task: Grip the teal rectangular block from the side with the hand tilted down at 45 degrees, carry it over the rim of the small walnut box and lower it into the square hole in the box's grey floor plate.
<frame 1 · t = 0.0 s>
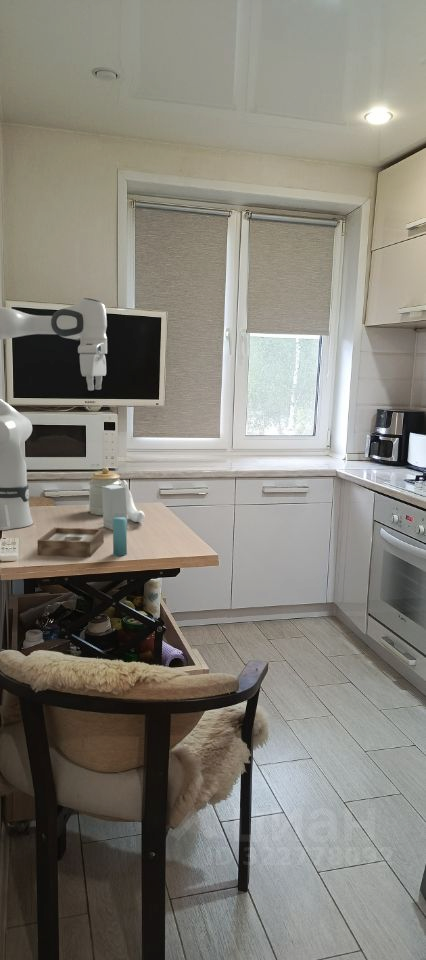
hand: (94, 389, 219), 48 cm above the table, tool pointing down, fingers open, 8 cm apart
peg box: (72, 548, 200), on the table
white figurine: (134, 522, 236), on the table
jar: (106, 512, 251), on the table
teal rectangular block: (120, 554, 195), on the table
skincare box: (114, 528, 227), on the table
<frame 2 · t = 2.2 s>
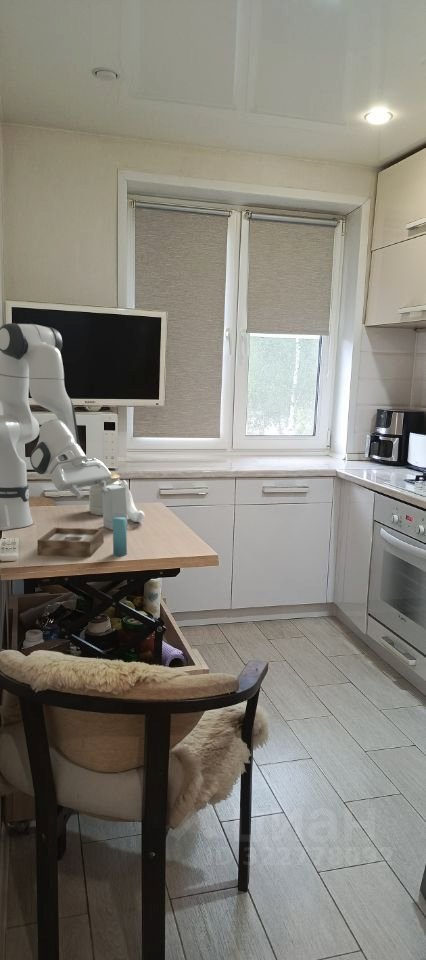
hand: (94, 495, 200), 16 cm above the table, tool tilted 45°, fingers open, 8 cm apart
nothing on the table moved.
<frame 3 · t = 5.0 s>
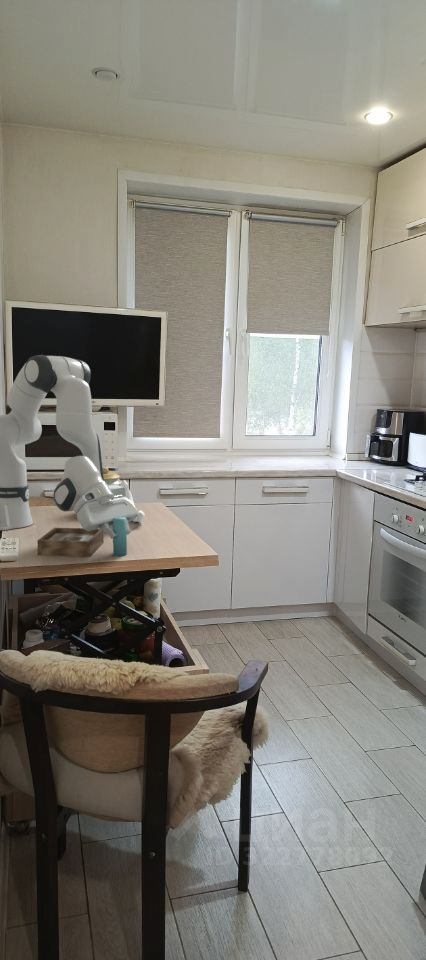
hand: (121, 535, 193), 6 cm above the table, tool tilted 45°, fingers closed on teal rectangular block, 4 cm apart
teal rectangular block: (120, 553, 195), on the table, touching gripper
everything else where it was.
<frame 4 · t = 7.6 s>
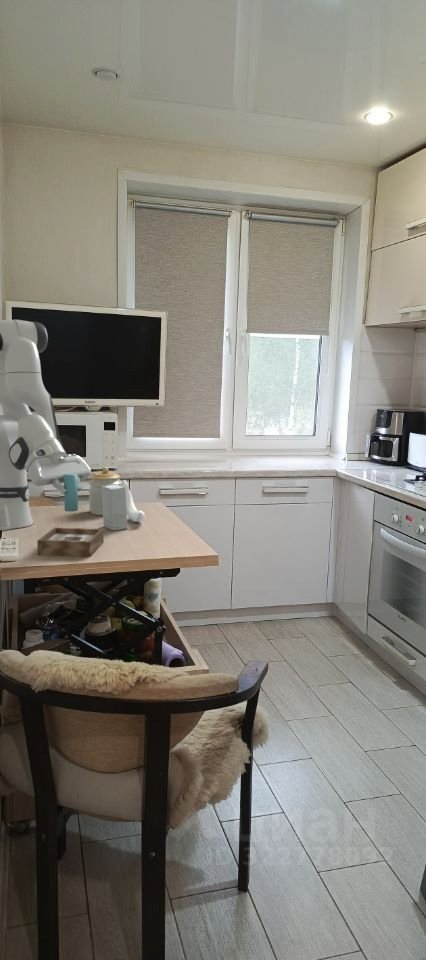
hand: (72, 491, 196), 18 cm above the table, tool tilted 45°, fingers closed on teal rectangular block, 4 cm apart
teal rectangular block: (71, 510, 198), point 12 cm above the table, touching gripper
everything else where it was.
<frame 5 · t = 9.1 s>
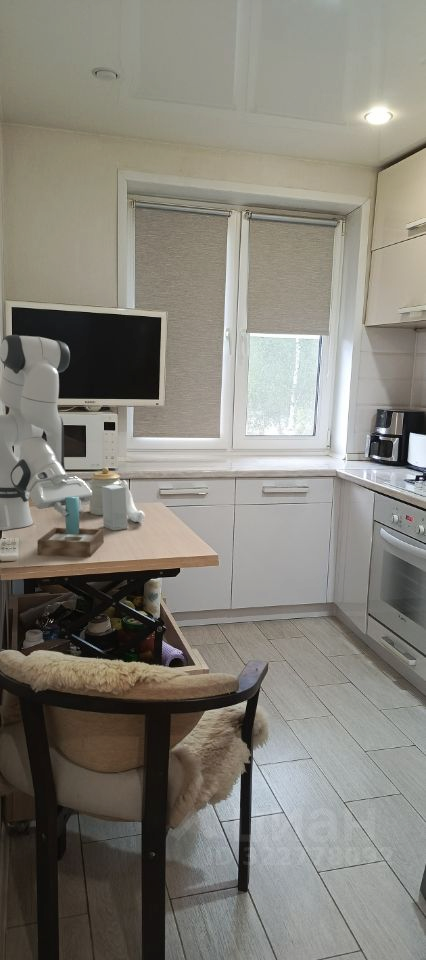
hand: (73, 514, 197), 11 cm above the table, tool tilted 45°, fingers closed on teal rectangular block, 4 cm apart
teal rectangular block: (72, 532, 198), point 5 cm above the table, touching gripper
everything else where it was.
when the fingers open (7 cm above the table, at t = 10.3 s): teal rectangular block drops 1 cm, resting in peg box.
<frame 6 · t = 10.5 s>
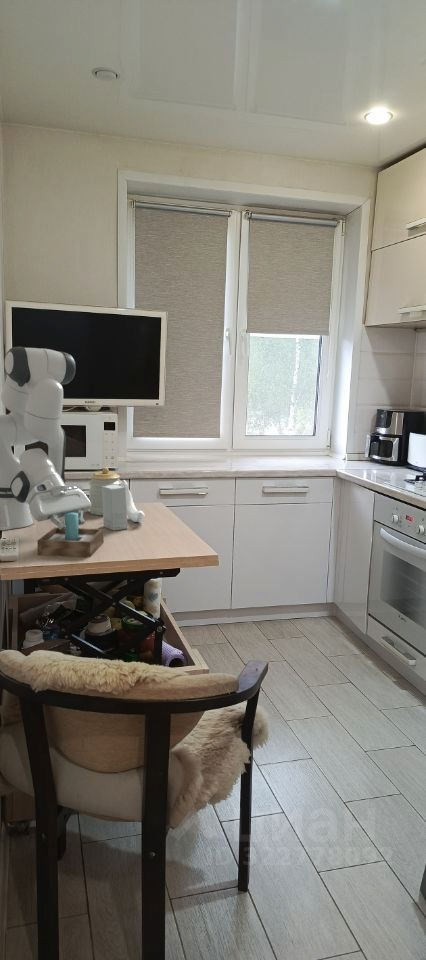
hand: (72, 525, 198), 7 cm above the table, tool tilted 45°, fingers open, 6 cm apart
teal rectangular block: (71, 548, 200), resting in peg box
everything else where it was.
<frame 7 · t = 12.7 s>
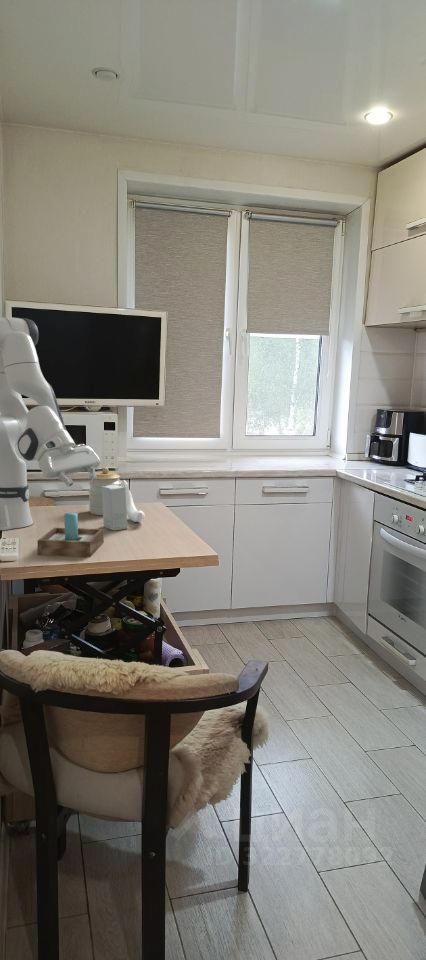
hand: (82, 482, 198), 21 cm above the table, tool tilted 45°, fingers open, 8 cm apart
nothing on the table moved.
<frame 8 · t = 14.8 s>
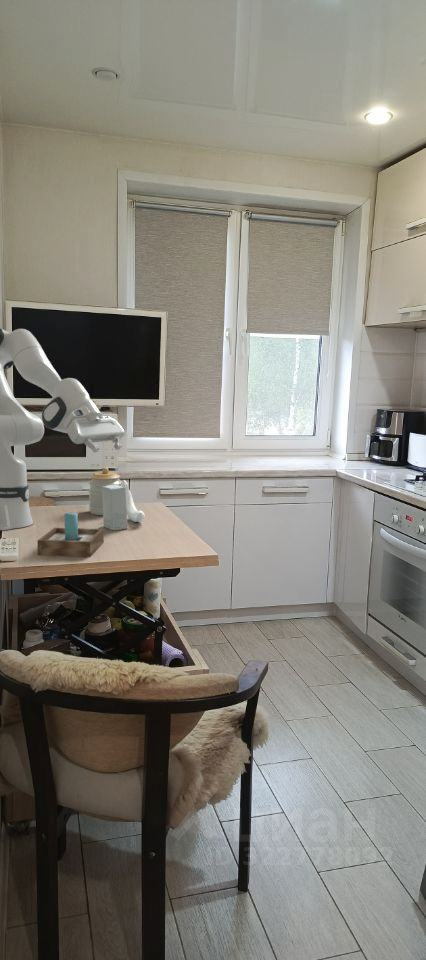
hand: (108, 449, 208), 29 cm above the table, tool tilted 45°, fingers open, 8 cm apart
nothing on the table moved.
at the end: teal rectangular block 0.1 cm off-centre on the peg box, point 0.0 cm above the peg box's base; teal rectangular block tilted 0°; the gripper is holding nothing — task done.
